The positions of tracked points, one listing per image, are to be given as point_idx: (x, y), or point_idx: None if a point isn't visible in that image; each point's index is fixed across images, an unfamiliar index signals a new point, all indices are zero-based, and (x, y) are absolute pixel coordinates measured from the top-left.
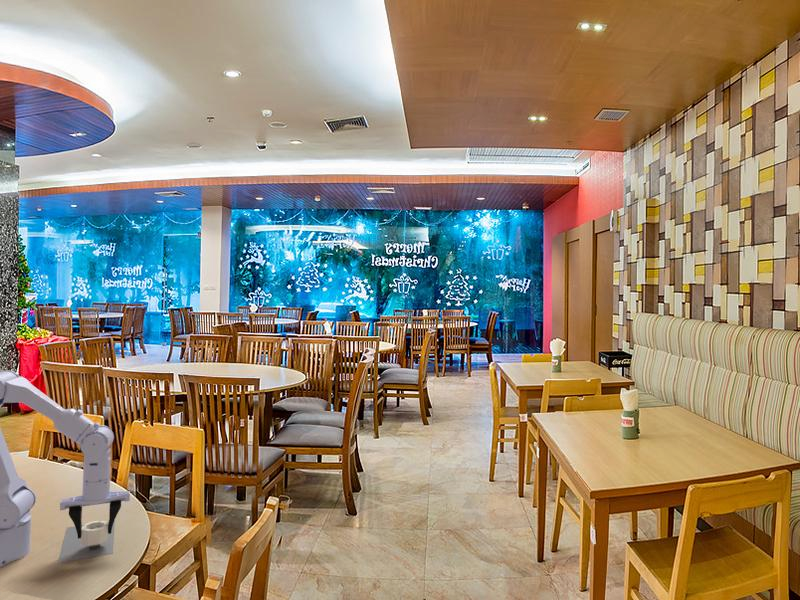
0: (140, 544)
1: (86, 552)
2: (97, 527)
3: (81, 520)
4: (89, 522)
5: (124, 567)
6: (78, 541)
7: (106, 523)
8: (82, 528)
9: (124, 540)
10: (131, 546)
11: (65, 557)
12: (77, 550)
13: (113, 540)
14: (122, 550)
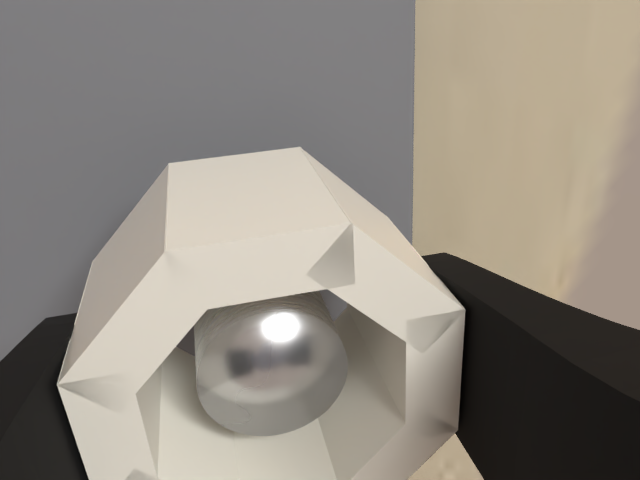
0: (600, 152)
1: (189, 336)
2: (299, 337)
3: (9, 429)
4: (155, 276)
5: (461, 462)
6: (4, 35)
7: (435, 361)
8: (103, 478)
9: (490, 8)
10: (532, 170)
11: None
12: (83, 279)
13: (412, 136)
14: (461, 227)
